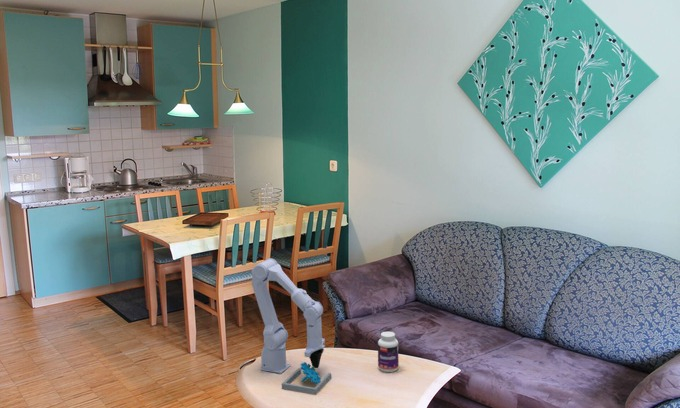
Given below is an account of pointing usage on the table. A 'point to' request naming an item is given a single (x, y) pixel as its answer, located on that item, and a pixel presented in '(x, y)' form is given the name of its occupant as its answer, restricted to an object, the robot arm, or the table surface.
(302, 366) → the gear
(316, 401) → the table surface
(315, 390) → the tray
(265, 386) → the table surface
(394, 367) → the pill bottle
